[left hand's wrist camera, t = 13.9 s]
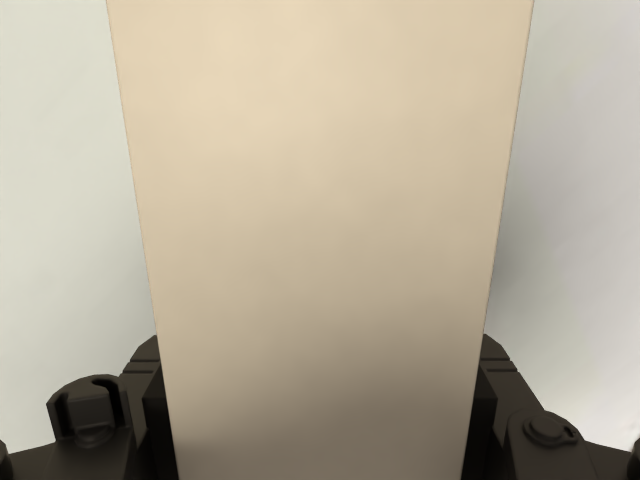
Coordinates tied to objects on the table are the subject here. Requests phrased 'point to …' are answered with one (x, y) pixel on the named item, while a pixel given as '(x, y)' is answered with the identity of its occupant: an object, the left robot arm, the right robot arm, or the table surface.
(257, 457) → the beam
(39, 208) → the table surface
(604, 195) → the table surface
